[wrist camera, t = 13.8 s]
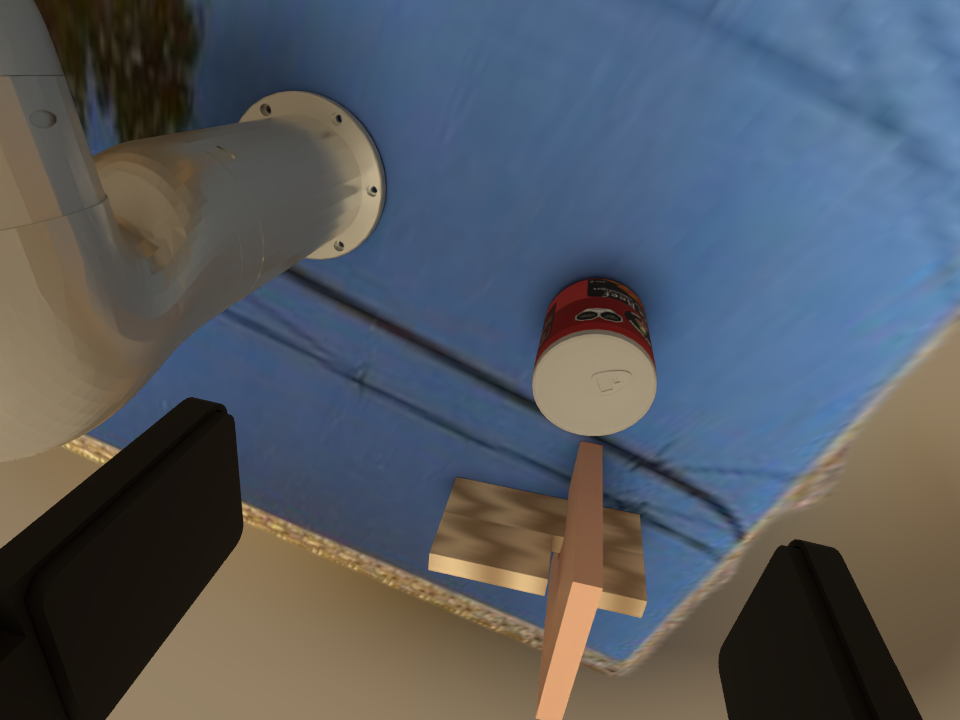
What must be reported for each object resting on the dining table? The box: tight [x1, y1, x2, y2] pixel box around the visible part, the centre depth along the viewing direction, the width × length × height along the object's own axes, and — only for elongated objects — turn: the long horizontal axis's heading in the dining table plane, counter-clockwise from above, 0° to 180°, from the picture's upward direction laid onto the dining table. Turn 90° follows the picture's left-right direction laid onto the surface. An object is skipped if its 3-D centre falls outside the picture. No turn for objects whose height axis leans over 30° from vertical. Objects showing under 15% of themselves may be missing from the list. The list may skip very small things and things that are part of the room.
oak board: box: [428, 477, 647, 618], centre depth 51 cm, size 18×2×10 cm, turn 84°
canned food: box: [532, 278, 657, 436], centre depth 41 cm, size 8×8×11 cm
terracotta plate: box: [536, 441, 603, 720], centre depth 48 cm, size 2×16×16 cm, turn 174°
